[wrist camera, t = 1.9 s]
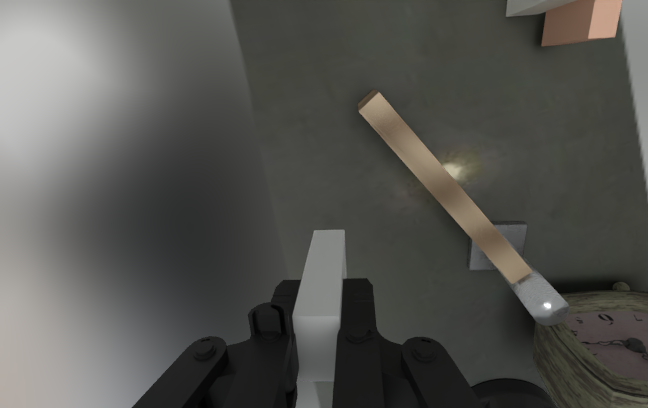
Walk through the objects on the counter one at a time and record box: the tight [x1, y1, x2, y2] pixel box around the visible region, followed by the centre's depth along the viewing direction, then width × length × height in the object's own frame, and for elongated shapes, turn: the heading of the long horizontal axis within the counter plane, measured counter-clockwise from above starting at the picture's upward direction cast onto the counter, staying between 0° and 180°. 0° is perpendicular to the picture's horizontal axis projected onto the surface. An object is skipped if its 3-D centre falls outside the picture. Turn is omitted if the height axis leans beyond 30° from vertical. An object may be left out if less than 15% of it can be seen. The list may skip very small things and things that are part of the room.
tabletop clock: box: [533, 282, 648, 408], centre depth 33 cm, size 14×9×25 cm, turn 97°
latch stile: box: [506, 0, 622, 46], centre depth 28 cm, size 6×5×12 cm
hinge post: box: [467, 221, 569, 326], centre depth 36 cm, size 6×6×13 cm
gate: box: [358, 89, 533, 284], centre depth 34 cm, size 22×2×8 cm, turn 44°
